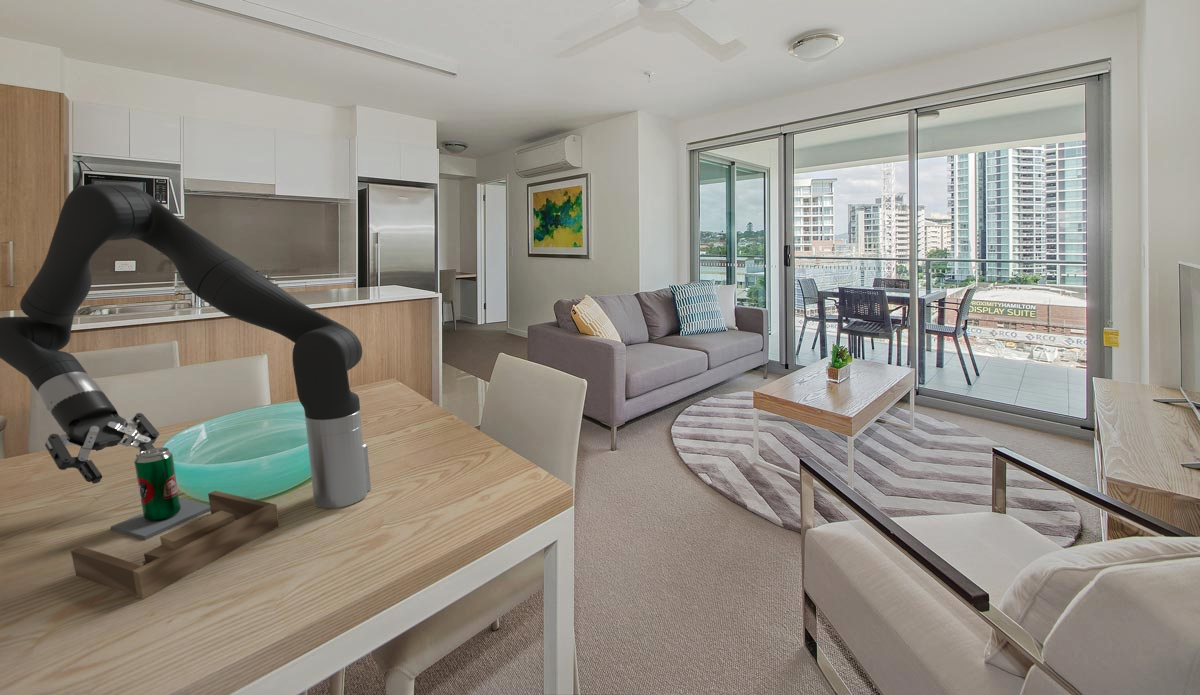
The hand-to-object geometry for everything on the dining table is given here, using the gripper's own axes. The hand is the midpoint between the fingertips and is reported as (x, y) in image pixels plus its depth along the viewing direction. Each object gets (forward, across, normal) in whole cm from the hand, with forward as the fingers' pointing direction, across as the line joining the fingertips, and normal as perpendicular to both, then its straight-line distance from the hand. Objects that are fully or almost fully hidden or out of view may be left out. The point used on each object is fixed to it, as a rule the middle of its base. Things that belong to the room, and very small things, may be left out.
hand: (127, 471), depth 93 cm
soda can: (+11, 0, 0) cm, 11 cm away
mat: (+11, 0, 0) cm, 11 cm away
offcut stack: (+22, -5, -11) cm, 26 cm away
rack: (+20, -5, -9) cm, 23 cm away
